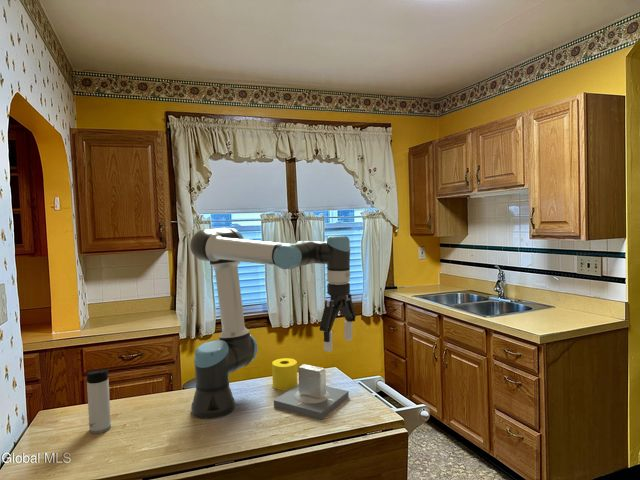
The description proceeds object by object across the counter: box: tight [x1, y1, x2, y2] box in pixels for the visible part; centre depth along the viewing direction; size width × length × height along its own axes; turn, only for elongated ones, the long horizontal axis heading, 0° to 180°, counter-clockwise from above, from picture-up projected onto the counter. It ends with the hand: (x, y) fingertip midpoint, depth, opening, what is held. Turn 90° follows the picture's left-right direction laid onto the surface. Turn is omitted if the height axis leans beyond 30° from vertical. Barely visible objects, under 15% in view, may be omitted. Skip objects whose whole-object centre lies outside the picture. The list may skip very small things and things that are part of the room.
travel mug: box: [86, 368, 112, 435], centre depth 141 cm, size 6×7×20 cm
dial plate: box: [273, 384, 350, 421], centre depth 159 cm, size 20×20×3 cm
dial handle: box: [298, 363, 327, 399], centre depth 159 cm, size 9×4×10 cm, turn 59°
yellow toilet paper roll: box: [271, 357, 298, 391], centre depth 175 cm, size 10×10×9 cm
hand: (338, 345), depth 145 cm, fingers open, 13 cm apart
